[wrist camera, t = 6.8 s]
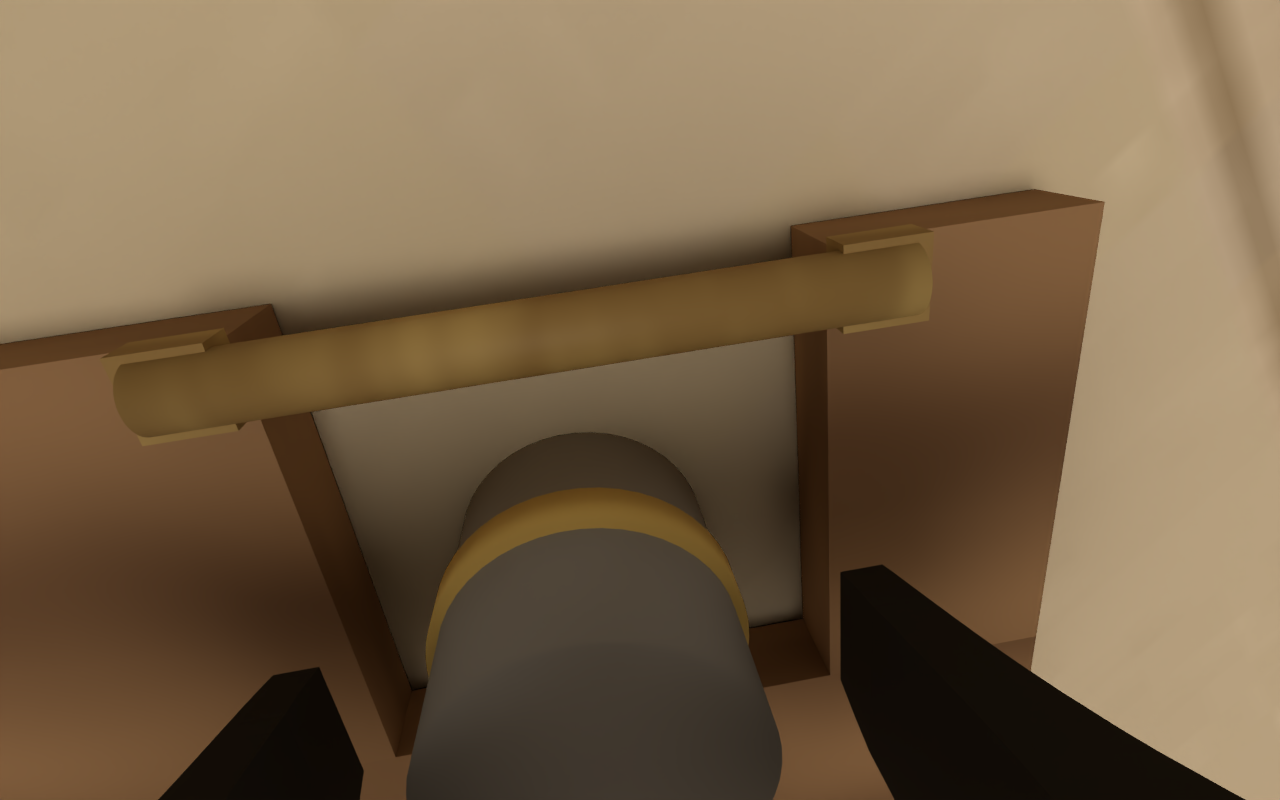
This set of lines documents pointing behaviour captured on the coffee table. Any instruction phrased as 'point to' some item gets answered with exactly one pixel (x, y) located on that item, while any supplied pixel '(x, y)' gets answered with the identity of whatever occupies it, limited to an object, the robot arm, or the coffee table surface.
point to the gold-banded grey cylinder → (590, 641)
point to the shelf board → (493, 352)
